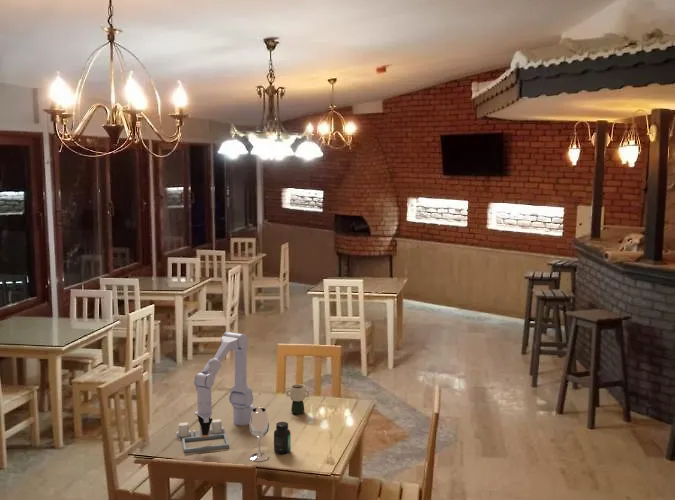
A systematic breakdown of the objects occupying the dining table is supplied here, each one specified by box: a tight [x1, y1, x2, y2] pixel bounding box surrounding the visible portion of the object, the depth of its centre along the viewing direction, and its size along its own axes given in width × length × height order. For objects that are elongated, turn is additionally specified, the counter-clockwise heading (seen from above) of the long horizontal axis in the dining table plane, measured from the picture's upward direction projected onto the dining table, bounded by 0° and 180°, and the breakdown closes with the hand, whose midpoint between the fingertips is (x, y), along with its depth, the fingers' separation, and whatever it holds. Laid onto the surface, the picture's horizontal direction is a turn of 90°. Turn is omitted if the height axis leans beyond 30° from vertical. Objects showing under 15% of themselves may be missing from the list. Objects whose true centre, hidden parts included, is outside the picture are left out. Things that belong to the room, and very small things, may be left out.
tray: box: [181, 434, 230, 456], centre depth 281 cm, size 18×12×2 cm, turn 106°
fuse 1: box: [178, 421, 190, 437], centre depth 289 cm, size 4×3×5 cm
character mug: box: [285, 383, 310, 415], centre depth 319 cm, size 11×7×13 cm, turn 87°
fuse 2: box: [211, 418, 223, 434], centre depth 293 cm, size 4×3×5 cm
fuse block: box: [174, 426, 227, 440], centre depth 292 cm, size 21×6×3 cm, turn 106°
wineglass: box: [248, 406, 270, 462], centre depth 270 cm, size 8×8×20 cm
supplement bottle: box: [273, 421, 292, 456], centre depth 276 cm, size 7×7×12 cm
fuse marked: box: [199, 424, 211, 438], centre depth 280 cm, size 4×3×5 cm
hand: (205, 433), depth 280 cm, fingers closed on fuse marked, 3 cm apart
